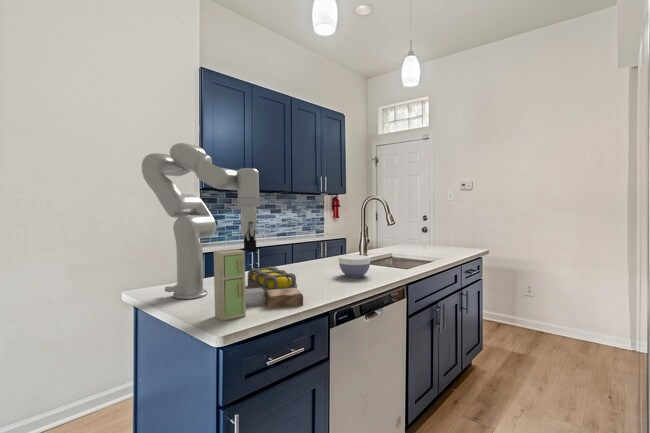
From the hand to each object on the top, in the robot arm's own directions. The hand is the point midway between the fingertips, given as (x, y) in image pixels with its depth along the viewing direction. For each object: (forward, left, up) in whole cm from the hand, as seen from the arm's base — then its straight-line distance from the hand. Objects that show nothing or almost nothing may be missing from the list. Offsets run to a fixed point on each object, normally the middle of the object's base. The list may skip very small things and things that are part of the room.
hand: (250, 250), depth 125 cm
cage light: (+10, +19, -20) cm, 29 cm away
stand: (+11, -3, -19) cm, 23 cm away
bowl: (+55, +34, -19) cm, 67 cm away
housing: (0, 0, -19) cm, 19 cm away
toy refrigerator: (-8, -14, -19) cm, 25 cm away
